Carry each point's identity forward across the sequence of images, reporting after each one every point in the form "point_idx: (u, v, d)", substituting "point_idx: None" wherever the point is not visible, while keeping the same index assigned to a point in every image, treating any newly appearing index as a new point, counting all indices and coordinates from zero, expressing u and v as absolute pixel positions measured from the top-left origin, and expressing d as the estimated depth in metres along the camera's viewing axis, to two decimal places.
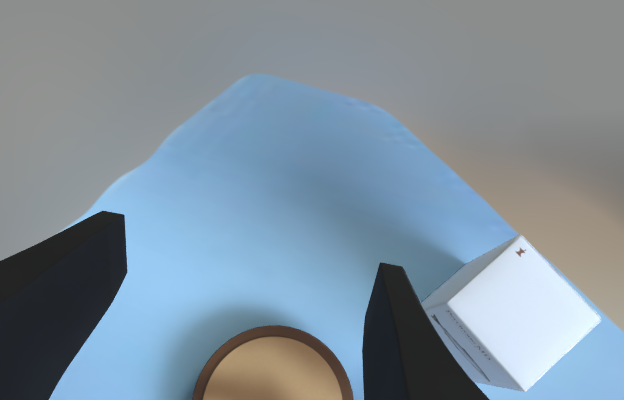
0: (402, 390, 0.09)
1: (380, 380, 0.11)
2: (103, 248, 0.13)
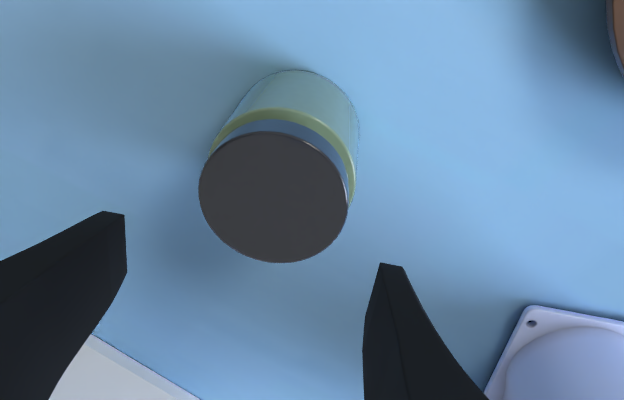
0: (402, 390, 0.09)
1: (380, 380, 0.11)
2: (103, 248, 0.13)
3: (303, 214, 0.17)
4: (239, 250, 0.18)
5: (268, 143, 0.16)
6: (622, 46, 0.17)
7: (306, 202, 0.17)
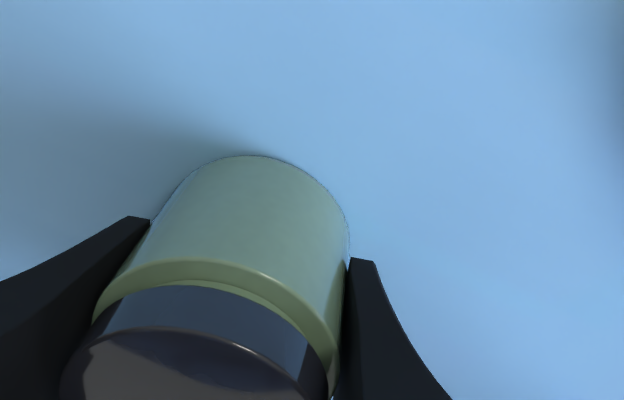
0: (358, 382, 0.09)
1: (345, 374, 0.11)
2: None
3: None
4: None
5: (171, 346, 0.08)
6: None
7: None
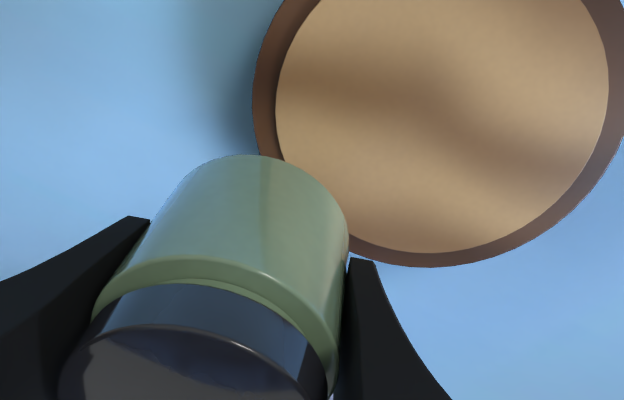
0: (358, 382, 0.09)
1: (345, 373, 0.11)
2: None
3: None
4: None
5: (170, 345, 0.08)
6: None
7: None
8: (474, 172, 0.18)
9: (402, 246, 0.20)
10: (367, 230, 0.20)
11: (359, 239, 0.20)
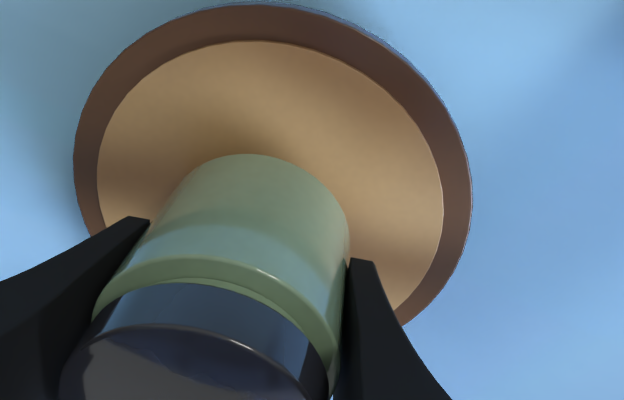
0: (358, 382, 0.09)
1: (345, 373, 0.11)
2: None
3: None
4: None
5: (171, 344, 0.08)
6: None
7: None
8: None
9: None
10: None
11: None
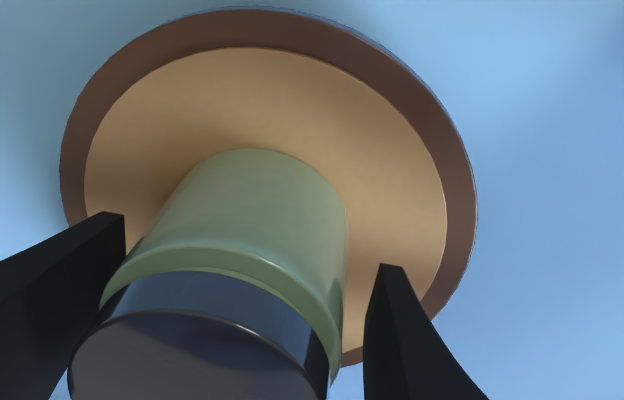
0: (402, 390, 0.09)
1: (380, 380, 0.11)
2: (103, 248, 0.13)
3: None
4: None
5: (178, 329, 0.09)
6: None
7: None
8: None
9: None
10: None
11: None
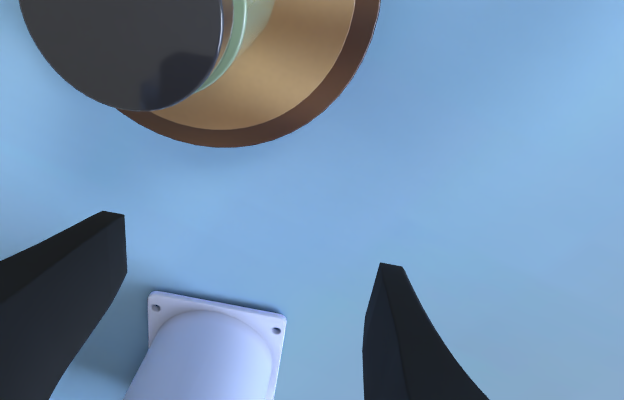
0: (402, 390, 0.09)
1: (380, 380, 0.11)
2: (103, 248, 0.13)
3: (163, 28, 0.12)
4: (87, 92, 0.13)
5: None
6: None
7: (164, 8, 0.12)
8: None
9: (200, 123, 0.21)
10: None
11: (162, 118, 0.21)
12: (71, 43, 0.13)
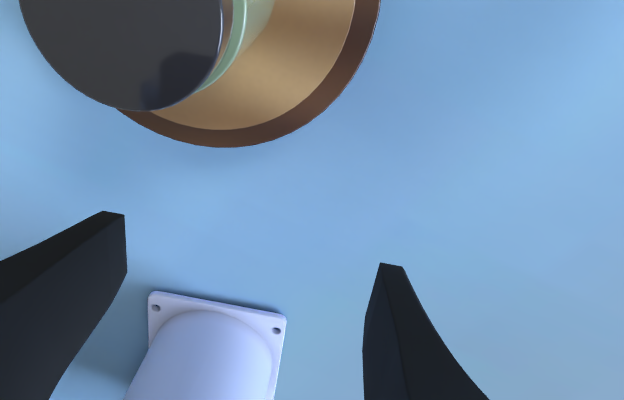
0: (402, 390, 0.09)
1: (380, 380, 0.11)
2: (103, 248, 0.13)
3: (163, 28, 0.12)
4: (87, 92, 0.13)
5: None
6: None
7: (164, 8, 0.12)
8: None
9: (200, 123, 0.21)
10: None
11: (161, 118, 0.21)
12: (71, 43, 0.13)
